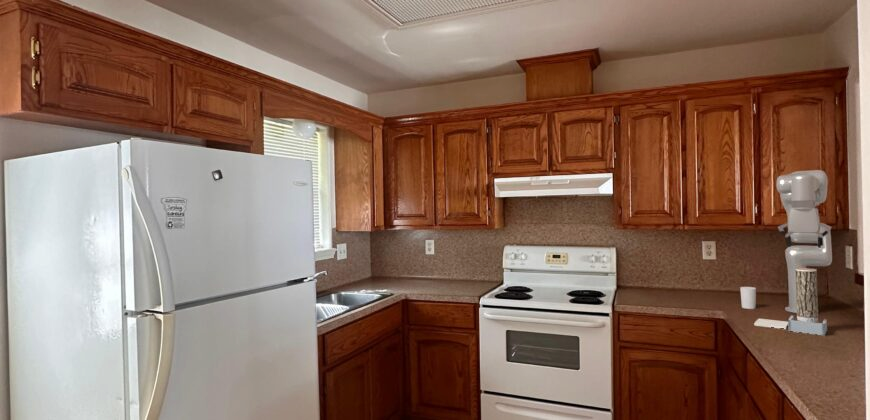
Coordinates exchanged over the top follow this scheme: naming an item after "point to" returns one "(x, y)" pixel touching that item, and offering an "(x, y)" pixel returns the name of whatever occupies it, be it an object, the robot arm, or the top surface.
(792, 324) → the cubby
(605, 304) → the top surface
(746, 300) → the drinking glass
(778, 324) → the tile
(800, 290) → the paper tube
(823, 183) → the robot arm
